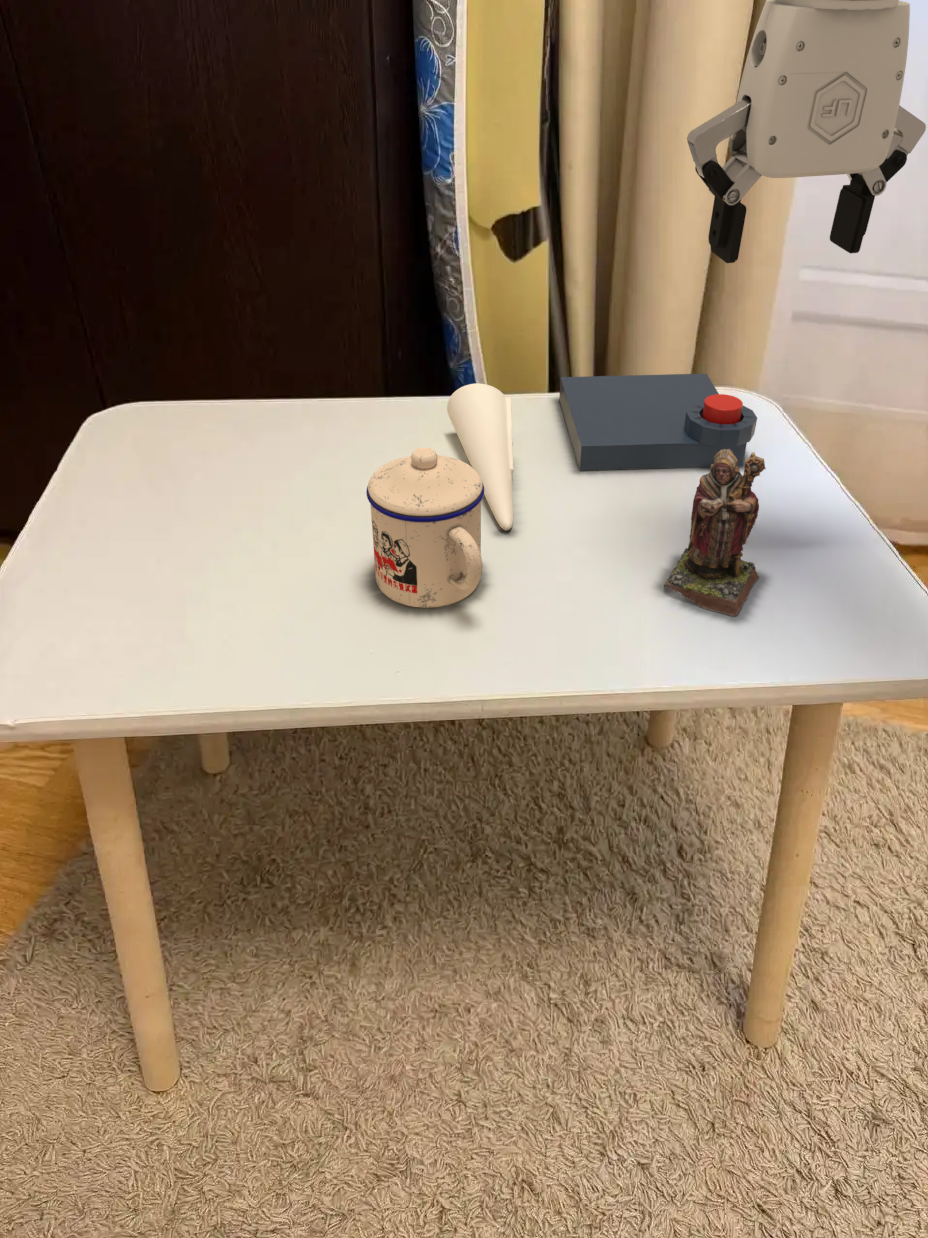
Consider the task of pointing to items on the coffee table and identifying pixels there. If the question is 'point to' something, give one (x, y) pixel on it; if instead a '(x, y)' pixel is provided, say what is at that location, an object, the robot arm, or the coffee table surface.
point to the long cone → (487, 442)
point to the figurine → (720, 537)
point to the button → (722, 409)
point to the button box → (647, 422)
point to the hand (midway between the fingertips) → (784, 251)
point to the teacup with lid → (426, 529)
